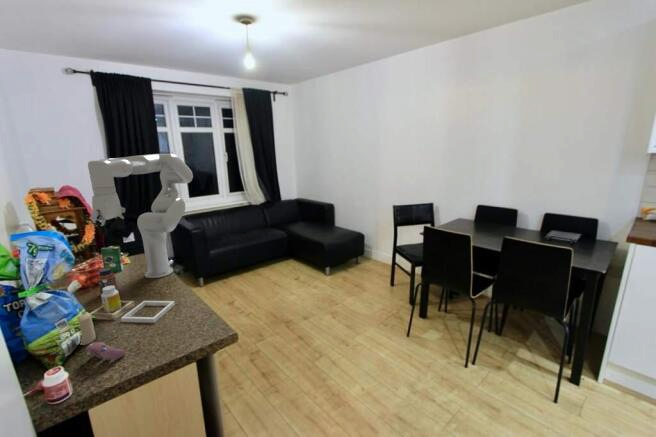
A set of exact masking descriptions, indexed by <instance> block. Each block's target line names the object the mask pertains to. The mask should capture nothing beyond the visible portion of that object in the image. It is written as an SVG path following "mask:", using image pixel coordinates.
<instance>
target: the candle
mask: <svg viewBox="0 0 656 437" xmlns="http://www.w3.org/2000/svg"><path fill="white" fill-rule="evenodd" d="M81 312H82V315H81V316H78V322H79V325H80V329H81V332H82V340H81V343H80V345H83V346H85V345H90V344H92V342H93V343H94V341H95V340H96V337H97V336H96V331H95V326H94V322H93V319H92V317H91V314H90V312H87V311H81Z"/></svg>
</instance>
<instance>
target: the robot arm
mask: <svg viewBox="0 0 656 437" xmlns="http://www.w3.org/2000/svg"><path fill="white" fill-rule="evenodd" d="M87 169H88V173H89V179H90V182H91V184H90V185H91V188H92V192H93V196H92V199H91V200H92V201H91V203H92V204H91V205H92V206H91V207H92V214H91V215H90V217H89V219H90V220H91V221H92V223H93V225H95V227H97V233H98V236H107V235H108V230H107V225H105V224H106V221H108V220H111V219H115V225H116V228H117V230H124V229H126V227H125V221H124V220H125V215H126V208H125V207H123V206H121V202H120V199H119V196H118V193H117V190H116V186H115V185H116V184H115V179H114V178H125V177H129V175H144V174H150V173H155V172H156V173H157V172H159V173H160V174H159V178H160V179H159V180H160V183H161V186H162V187H161V190H160V192H159V193H158V195H157V196H156V198H155V199H154V200H153V202H152V205H151V208H150V210H151V212H144V213H142V214H140V215H139V216H138V218H137V228H138V230H139V232H140V234H141V238H142V239H141V240H142V244H143V250H144V255H145V262H146V267H147V271H146V272H145V273H144V276H145V278H147V279H159V278H163V277H166V276H169V275H170V274H172V273H173V272H174V268H173V267H171V264H173V263H174V260H173V259H170V260H169V258H168V251H167V243H166V238H165V235H164V234H163V233H171V232H173V231H174V230H175V229H176V228H177V226H178V224H179V223H180V220H182V218H183V215H184V214H185V211H186V202H185V201H184V199H183V198H181V197H179V191H178V189H177V187H176V184H190V183H191V182H192V180H193V178H194V175H193V171H192V170H191V169H190V167H189V166H188V165H187V164H186V163H185V162H184V161H183V160H182V159H181V157H179V156H178V155H176V154H174V153H152V154H143V155H142V154H141V155H140V154H139V155H131V156H124V157H114V158H113V157H112V158H102V159H99V160H98V159H97V160H96V159H95V160H90V161H89V162H88V163H87Z"/></svg>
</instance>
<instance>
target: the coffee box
mask: <svg viewBox="0 0 656 437" xmlns="http://www.w3.org/2000/svg"><path fill="white" fill-rule="evenodd" d="M100 253H101V258H102V263H103V264H102V265H103V269H104V268H110V269H111V272H112V273H119V272H123V271H124V265H123V258H122V252H121V247H120V246H112V247H108V246H107V247H101V249H100Z"/></svg>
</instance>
